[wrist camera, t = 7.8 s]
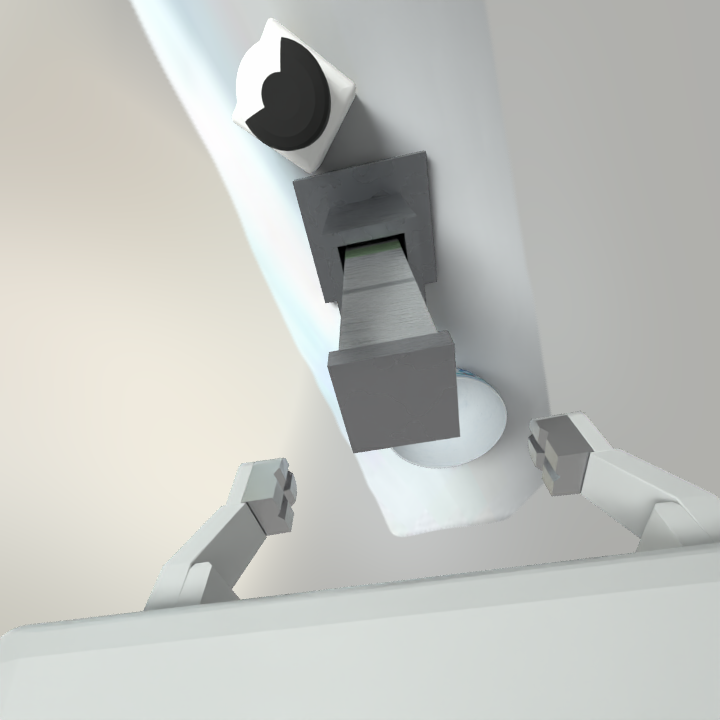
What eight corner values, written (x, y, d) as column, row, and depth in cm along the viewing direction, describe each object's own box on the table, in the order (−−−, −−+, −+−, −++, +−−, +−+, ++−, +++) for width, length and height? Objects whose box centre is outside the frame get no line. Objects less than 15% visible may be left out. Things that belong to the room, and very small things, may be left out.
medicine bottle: (356, 93, 32) (358, 75, 22) (318, 169, 35) (304, 182, 25) (285, 37, 30) (251, -13, 20) (251, 123, 33) (207, 117, 23)
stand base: (294, 179, 36) (267, 200, 24) (422, 150, 35) (457, 158, 23) (326, 298, 43) (316, 357, 31) (434, 277, 42) (464, 330, 30)
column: (342, 230, 32) (327, 366, 13) (393, 219, 31) (454, 344, 13) (353, 279, 34) (353, 453, 15) (400, 269, 34) (460, 436, 15)
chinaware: (486, 334, 46) (508, 367, 39) (487, 420, 54) (506, 459, 47) (372, 354, 47) (375, 389, 41) (389, 435, 55) (394, 475, 49)
